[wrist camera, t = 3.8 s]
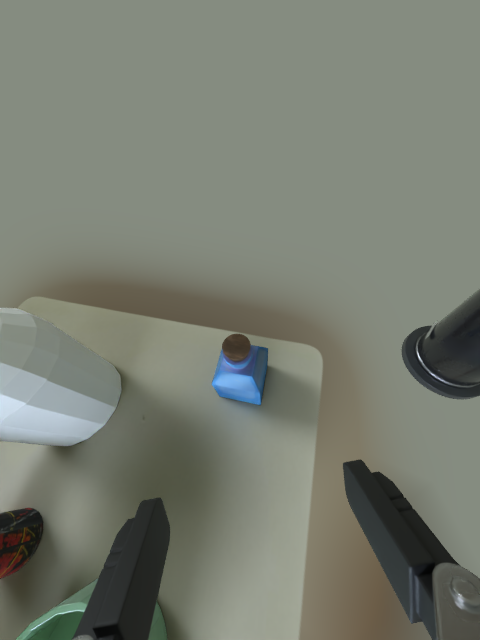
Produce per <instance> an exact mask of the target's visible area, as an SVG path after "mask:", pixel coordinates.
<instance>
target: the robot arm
mask: <svg viewBox="0 0 480 640" xmlns="http://www.w3.org/2000/svg"><path fill="white" fill-rule="evenodd" d="M436 322H437V321H436ZM436 322H434V323H433V325H432V327H431V329H430V330H429V331H428V332H426V333H424V334H423V335H422V336H420V337H419V338H418V339H417V341H416V343H415V346H414V353H415V357H416V359H417V361H418V363H419V365H420V366H421V367H422V369H423V370H424V371H425V372H426V373H427V374H428V375H430V376H431V377H432V378H434V379H435V380H437V381H439V382H440V383H443V384H445V385H447V386H451V387H455V388H470V387H474V386H476V385H479V384H480V289H479V290H478V291H476V292H475V293H474V294H473V295H472V296H470V297H469V298H468V299H467V300H466V301H464V302H463V303H462V304H461V305H459V306H458V307H457V308H456V309H454V310H453V311H452V312H451V313H450V314H448V315H447V316H446V317H445V318H443V319H442V320H441V321H440V322H439V323H437V324H436ZM435 324H436V325H435ZM343 470H344V480H345V490H346V495H347V498H348V502H349V504H350V506H351V509H352V510H353V512H354V514H355V516H356V518H357V520H358V522H359V524H360V526H361V528H362V530H363V532H364V534H365V535H366V537H367V539H368V541H369V543H370V545H371V547H372V549H373V551H374V553H375V554H376V557H377V558H378V560H379V562H380V564H381V566H382V568H383V569H384V572H385V574H386V575H387V577H388V579H389V581H390V583H391V585H392V587H393V589H394V591H395V593H396V595H397V597H398V598H399V601H400V602H401V604H402V606H403V608H404V610H405V612H406V614H407V616H408V618H409V620H410V622H411V623H417V622H423V623H424V625H425V627H426V628H427V630H428V632H429V634H430V636H431V638H432V640H480V579H479V578H478V577H477V576H476V575H474V574H473V573H471V572H470V571H468V570H467V569H465V568H463V567H461V566H460V565H459V564H458V563H457V562H456V561H455V560H454V559H453V558H452V557H451V556H450V554H449V553H448V552H447V550H446V549H445V548H444V547H443V545H442V544H441V543H440V541H439V540H438V539H437V538H436V536H435V535H434V534H433V533H432V531H431V530H430V529H429V527H428V526H427V525H426V524H425V523H424V521H423V520H422V519H421V517H420V516H419V515H418V513H417V512H416V511H415V510H414V509H413V508H412V506H411V505H410V503H409V502H408V501H407V500H406V498H404V497H403V494H402V493H401V492H400V491H399V489H398V488H397V487H396V486H395V484H394V483H393V482H392V481H390V480H389V479H388V478H387V477H386V476H384V475H383V474H382V473H380V472H374V473H371V472H370V470H369V469H368V468H367V466H366V465H365V463H364V462H363V461H362V460H356V461H350V462H345V463H343ZM169 541H170V525H169V521H168V518H167V515H166V511H165V508H164V505H163V501H162V499H161V498H160V497H159V498H154V499H149V500H143V501H142V502H141V503H140V505H139V507H138V510H137V512H136V515H135V518H131V519H128V520H127V521H126V523H125V524H124V526H123V527H122V528H121V530H120V531H119V532H118V534H117V536H116V538H115V541H114V543H113V545H112V548H111V550H110V554H109V555H108V557H107V559H106V562H105V564H104V569H102V571H101V574H100V576H99V578H98V581H97V583H96V585H95V588H94V590H93V592H92V595H91V597H90V599H89V602H88V604H87V607H86V609H85V611H84V614H83V616H82V618H81V621H80V623H79V625H78V628H77V630H76V632H75V634H74V636H73V638H72V640H148V638H149V633H150V629H151V624H152V620H153V615H154V610H155V606H156V601H157V597H158V592H159V588H160V583H161V578H162V574H163V569H164V565H165V560H166V555H167V551H168V546H169Z"/></svg>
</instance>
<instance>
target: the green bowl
mask: <svg viewBox="0 0 480 640" xmlns="http://www.w3.org/2000/svg"><path fill="white" fill-rule="evenodd" d="M97 581H98V579H96V580H95V581H93V582H91V583H90V584H88V585H87V586H85V587H84V588H82V589H80V590H79V591H77V592H76V593H74V594H73V595H71V596H70V597H68V598H67V599H65V600H64V601H62V602H61V603H59V604H58V605H56V606H55V607H54V608H52V609H51V610H49V611H48V612H46V613H45V614H43V615H42V616H40V617H39V618H37V619H36V620H34V621H33V622H32V623H30V625H29V626H28V627H27V628H26V629H25V630H24V631H23V632H22V633H21V634H20V635H19V636H18V637H17V638H16V639H15V640H72V638H73V636H74V634H75V632H76V630H77V628H78V625H79V623H80V621H81V618H82V616H83V614H84V611H85V609H86V607H87V604H88V602H89V599H90V597H91V595H92V592H93V590H94V588H95V585H96V583H97ZM148 640H168V639H167V631H166V627H165V622H164V618H163V615H162V612H161V609H160V607H159V605H158V602H157V601H156V606H155V610H154V615H153V620H152V624H151V629H150V633H149V638H148Z"/></svg>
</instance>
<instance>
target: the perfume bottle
mask: <svg viewBox="0 0 480 640" xmlns="http://www.w3.org/2000/svg"><path fill="white" fill-rule="evenodd" d="M267 361H268V348H264V347H259V346H253V345H251V344H250V341H249V340H248V338H247V337H246V336H244V335H242V334H232V335H230V336H228V337H227V338H226V339H225V340H224V342H223V344H222V351H221V354H220V358H219V361H218V364H217V368H216V371H215V375H214V378H213V382H212V385H213V387H214V388H215V390H216V391H217V393H218V394H219V396H220V397H225V398H229V399H234V400H239V401H244V402H248V403H253V404H258V405H261V400H262V394H263V388H264V382H265V376H266V370H267Z"/></svg>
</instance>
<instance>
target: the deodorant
mask: <svg viewBox="0 0 480 640" xmlns="http://www.w3.org/2000/svg"><path fill="white" fill-rule="evenodd" d="M42 531H43V521H42V517H41V515H40V513H39V512H38V511H37V510H35V509H33V508H25V509H20V510H14V511H8V512H3V513H0V579H1V578H4V577H6V576H8V575H11V574H13V573H14V572H16V571H18V570H19V569H21V568H22V567H23V566H24V565H25V564H26V563H27V562H28V561H29V560H30V558H31V557H32V556H33V554H34V552H35V551H36V549H37V547H38V544H39V542H40V540H41V536H42Z"/></svg>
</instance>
